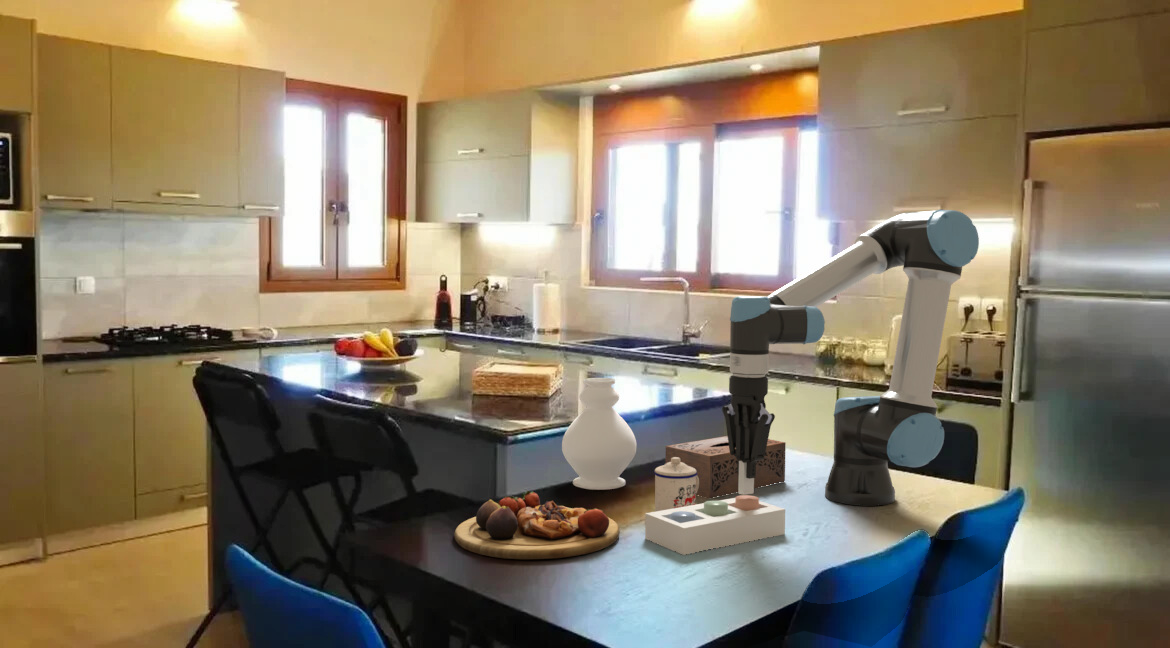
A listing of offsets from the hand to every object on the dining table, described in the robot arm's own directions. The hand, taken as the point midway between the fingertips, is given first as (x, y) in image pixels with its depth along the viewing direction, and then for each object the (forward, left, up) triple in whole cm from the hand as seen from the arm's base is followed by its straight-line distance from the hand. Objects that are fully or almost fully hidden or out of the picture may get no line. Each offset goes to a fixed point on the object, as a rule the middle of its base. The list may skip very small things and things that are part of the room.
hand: (745, 493), depth 191 cm
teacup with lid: (+2, -19, -8) cm, 21 cm away
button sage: (+8, 0, -5) cm, 9 cm away
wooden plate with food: (+37, -19, -8) cm, 42 cm away
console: (+8, 0, -8) cm, 11 cm away
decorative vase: (+3, -49, -8) cm, 50 cm away
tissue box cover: (-22, -32, -8) cm, 40 cm away
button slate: (+16, 0, -6) cm, 17 cm away
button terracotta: (0, 0, -5) cm, 5 cm away
